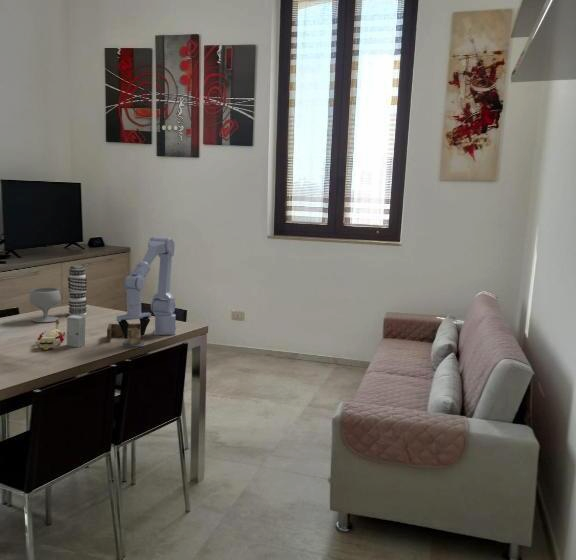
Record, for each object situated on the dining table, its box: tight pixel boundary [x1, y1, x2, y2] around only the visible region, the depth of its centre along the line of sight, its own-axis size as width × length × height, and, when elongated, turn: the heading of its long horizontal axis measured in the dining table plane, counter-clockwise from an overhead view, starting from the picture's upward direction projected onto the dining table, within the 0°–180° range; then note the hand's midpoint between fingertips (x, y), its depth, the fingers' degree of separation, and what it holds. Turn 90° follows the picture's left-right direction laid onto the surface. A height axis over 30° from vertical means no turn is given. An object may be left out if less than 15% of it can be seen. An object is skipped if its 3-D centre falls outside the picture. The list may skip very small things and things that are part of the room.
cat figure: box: [34, 318, 66, 350], centre depth 229 cm, size 10×9×25 cm
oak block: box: [126, 328, 141, 345], centre depth 231 cm, size 4×4×6 cm
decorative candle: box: [67, 264, 88, 317], centre depth 280 cm, size 9×9×25 cm
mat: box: [123, 340, 145, 349], centre depth 231 cm, size 8×8×1 cm
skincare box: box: [66, 315, 86, 348], centre depth 226 cm, size 6×4×12 cm
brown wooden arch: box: [106, 322, 144, 343], centre depth 240 cm, size 14×10×6 cm
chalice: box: [28, 287, 62, 323], centre depth 265 cm, size 14×14×15 cm
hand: (134, 336), depth 231 cm, fingers open, 7 cm apart
